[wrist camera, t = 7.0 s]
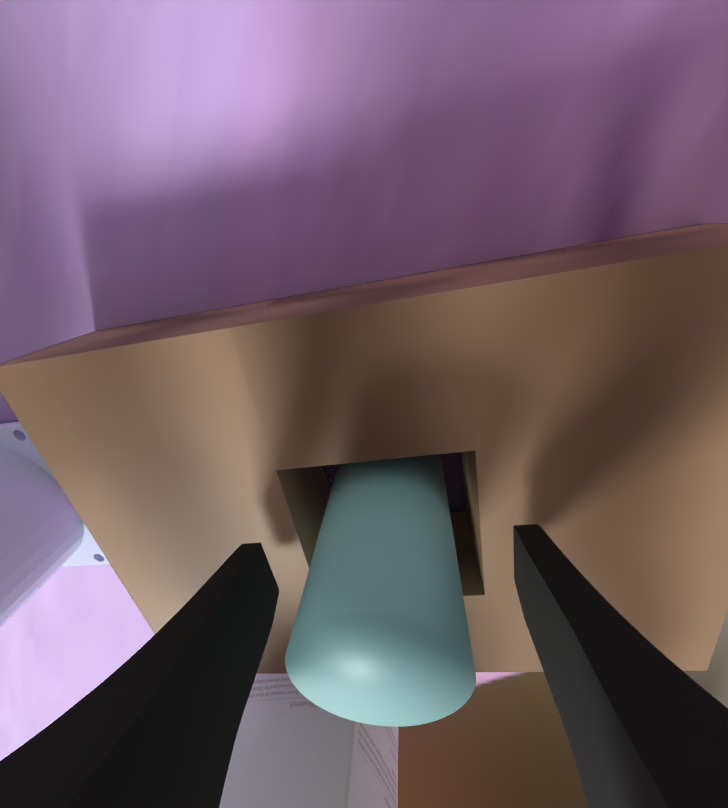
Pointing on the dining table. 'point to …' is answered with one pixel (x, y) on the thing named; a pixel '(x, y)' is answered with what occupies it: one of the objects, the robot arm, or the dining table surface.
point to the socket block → (420, 431)
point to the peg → (384, 600)
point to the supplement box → (307, 755)
